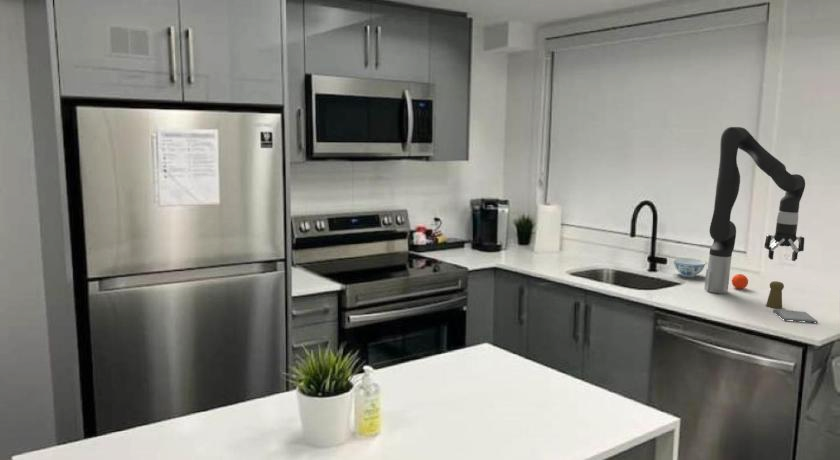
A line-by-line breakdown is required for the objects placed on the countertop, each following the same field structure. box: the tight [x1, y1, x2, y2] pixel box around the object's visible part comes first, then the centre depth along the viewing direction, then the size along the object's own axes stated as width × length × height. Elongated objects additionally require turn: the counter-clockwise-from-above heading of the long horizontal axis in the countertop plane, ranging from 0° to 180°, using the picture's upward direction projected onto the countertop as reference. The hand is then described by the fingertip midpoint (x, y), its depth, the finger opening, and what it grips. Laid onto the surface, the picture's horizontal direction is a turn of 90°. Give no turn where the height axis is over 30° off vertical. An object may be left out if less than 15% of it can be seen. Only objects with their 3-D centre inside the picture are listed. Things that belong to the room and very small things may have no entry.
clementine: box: [731, 273, 749, 290], centre depth 286 cm, size 8×7×7 cm
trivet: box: [772, 309, 818, 324], centre depth 244 cm, size 12×12×1 cm
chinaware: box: [672, 257, 707, 278], centre depth 308 cm, size 15×15×8 cm
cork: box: [765, 280, 785, 310], centre depth 257 cm, size 6×6×11 cm
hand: (782, 259), depth 255 cm, fingers open, 8 cm apart
